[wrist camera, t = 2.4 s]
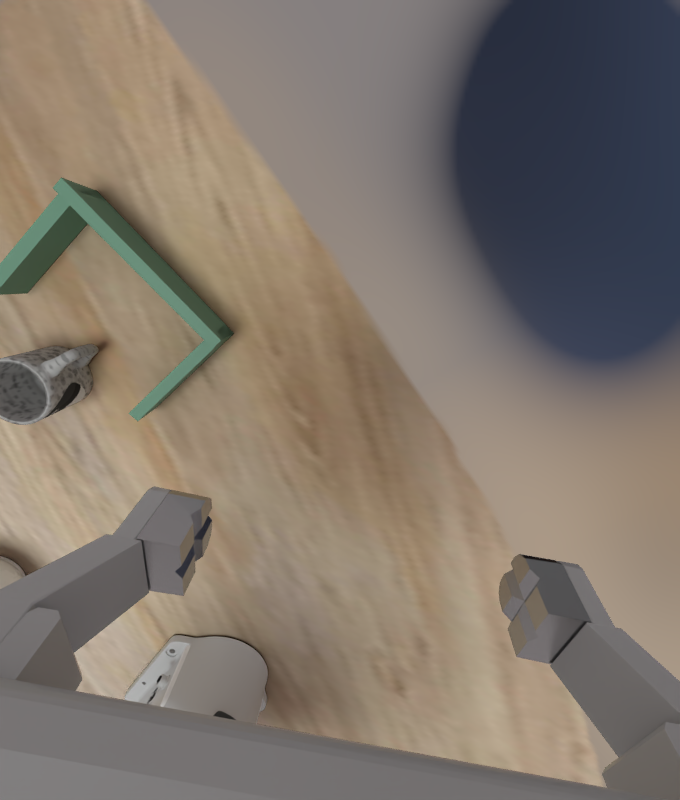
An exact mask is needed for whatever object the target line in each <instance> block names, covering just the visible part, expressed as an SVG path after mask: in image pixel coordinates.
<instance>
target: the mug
mask: <svg viewBox="0 0 680 800" xmlns="http://www.w3.org/2000/svg"><path fill="white" fill-rule="evenodd" d="M98 351H99V350H98V347H97V346H95V345H94V344H87V345H83V346H80V347H76V348H73V349H71V350H70V349H68V348H65V347H60V346H51V347H47V348H42V349H38V350H34V351H30V352H26V353H21V354H17V355H13V356H9V357H4V358H0V418H2V419H3V420H5V421H8V422H10V423H14V424H20V425H26V424H32V423H35V422H37V421H39V420H41V419H44V418H46V417H48V416H50V415H52V414H54V413H56V412H58V411H60V410H62V409H64V408H66V407H69V406H71V405H73V404H75V403H77V402H79V401H81V400H83V399H84V398H85V397H86V396H87V395H88V394H89V393H90V391H91V388H92V385H93V377H92V373H91V370H90V368H89V366H88V364H89V362H90V361H91V359H92V358H93V357H94V355H96V354H97V353H98Z"/></svg>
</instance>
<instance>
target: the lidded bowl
mask: <svg viewBox="0 0 680 800" xmlns="http://www.w3.org/2000/svg"><path fill="white" fill-rule="evenodd" d="M25 576H26V575H25V573H24V571H23V570H22V568H21V567H20V566H19V565H18V564H17V563H15V562H14V561H12V560H11V559H8V558H6V557H3V556H0V589H2V588H4V587H6V586H8V585H10V584H11V583H13V582H15V581H17V580H19V579H21V578H23V577H25Z"/></svg>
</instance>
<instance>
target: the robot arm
mask: <svg viewBox="0 0 680 800" xmlns="http://www.w3.org/2000/svg"><path fill="white" fill-rule="evenodd" d="M211 509H212V500H211V498H208V497H204V496H199V495H194V494H189V493H185V492H180V491H175V490H169V489H164V488H159V487H152V488H151V489H149V490H148V491H147V492H146V493H145V494H144V496H143V497H142V498H141V500H140V501H139V502H138V503H137V505H136V506H135V507H134V508H133V510H132V511H131V512H130V514H129V515H128V516H127V517H126V519H125V520H124V521H123V523H122V524H121V525H120V526H119V528H118V529H117V530H116V531H115V533H114V534H113V535H108V534H106V535H104V536H102V537H100V538H98V539H96V540H95V541H93V542H91V543H89V544H87V545H85V546H83V547H81V548H79V549H77V550H75V551H73V552H71V553H69V554H67V555H66V556H64V557H62V558H60V559H58V560H56V561H54V562H52V563H50V564H48V565H46V566H44V567H42V568H40V569H39V570H37V571H35V572H33V573H31V574H29V575H27V576H25V577H23V578H21V579H19V580H17V581H15V582H13V583H11V584H10V585H8V586H6V587H4V588H2V589H0V800H680V681H679V680H678V679H676V678H675V677H674V676H673V675H672V674H671V673H670V672H669V671H668V670H666V669H665V668H664V667H663V666H662V665H661V664H660V663H658V661H656V660H655V659H654V658H653V657H652V656H651V655H650V654H649V653H648V652H647V651H645V650H644V649H643V648H642V647H641V646H640V645H639V644H638V643H637V642H635V641H634V640H633V639H632V638H631V637H630V636H629V635H628V634H627V633H626V632H624V631H623V630H622V629H620V628H615V626H614V625H613V623H612V621H611V619H610V617H609V616H608V614H607V612H606V610H605V609H604V607H603V605H602V603H601V601H600V599H599V598H598V596H597V594H596V592H595V590H594V589H593V587H592V585H591V583H590V581H589V580H588V578H587V576H586V574H585V572H584V571H583V569H582V568H581V567H580V566H579V565H577V564H572V563H566V562H561V561H555V560H550V559H544V558H539V557H532V556H527V555H521V554H519V555H517V556H515V557H514V559H513V560H512V562H511V565H512V568H513V570H511V571H509V572H507V573H505V574H504V576H503V577H502V579H501V581H500V586H499V600H500V604H501V608H502V611H503V613H504V614H505V615H506V616H507V617H508V618H509V619H510V621H511V623H510V625H509V627H508V631H509V635H510V638H511V641H512V644H513V648H514V651H515V654H516V657H520V658H524V659H529V660H534V661H538V662H543V663H548V664H551V665H550V666H551V668H552V669H553V670H554V672H555V673H556V674H557V676H558V677H559V678H560V680H561V681H562V682H563V684H564V685H565V686H566V688H567V689H568V690H569V692H570V693H571V694H572V696H573V697H574V698H575V700H576V701H577V702H578V704H579V705H580V706H581V708H582V709H583V710H584V712H585V713H586V714H587V716H588V717H589V718H590V720H591V721H592V722H593V724H594V725H595V726H596V728H597V729H598V730H599V732H600V733H601V734H602V736H603V737H604V738H605V740H606V741H607V742H608V744H609V745H610V746H611V748H612V749H613V750H614V752H615V753H616V754H617V756H618V757H619V758H618V759H616V760H615V761H613V762H612V763H611V764H609V765H608V766H607V767H605V769H604V771H603V773H602V775H603V778H604V780H605V783H606V786H607V788H605V787H600V786H594V785H589V784H583V783H578V782H572V781H567V780H561V779H556V778H551V777H545V776H540V775H534V774H529V773H523V772H518V771H512V770H507V769H501V768H496V767H490V766H485V765H479V764H474V763H468V762H463V761H458V760H452V759H447V758H441V757H436V756H430V755H425V754H419V753H414V752H408V751H403V750H397V749H392V748H386V747H381V746H375V745H370V744H364V743H359V742H353V741H348V740H342V739H337V738H331V737H326V736H320V735H315V734H309V733H304V732H298V731H293V730H287V729H282V728H276V727H271V726H265V725H260V724H257V721H258V717H259V713H260V711H262V710H264V709H265V707H266V703H267V695H266V692H265V685H266V682H267V678H268V670H267V666H266V663H265V661H264V660H263V658H262V657H261V655H260V654H259V653H258V652H257V651H256V650H254V649H253V648H252V647H250V646H249V645H247V644H245V643H243V642H241V641H238V640H235V639H232V638H227V637H218V636H212V637H202V638H193V637H188V636H182V635H175V636H173V637H171V638H170V639H169V640H168V642H167V643H166V644H165V645H164V646H163V648H162V649H161V650H160V651H159V653H158V654H157V655H156V656H155V657H154V659H153V660H152V661H151V662H150V663H149V665H148V666H147V667H146V668H145V669H144V671H143V672H142V673H141V674H140V675H139V677H138V678H137V679H136V680H135V681H134V683H133V684H132V685H131V686H130V688H129V689H128V690H127V692H126V695H125V700H123V699H117V698H112V697H106V696H101V695H95V694H90V693H84V692H79V691H76V689H77V687H78V686H79V684H80V682H81V681H82V675H81V671H80V668H79V665H78V663H77V660H76V657H75V655H74V652H75V651H77V650H78V649H79V648H80V647H82V646H83V645H84V644H85V643H87V642H88V641H89V640H90V639H92V638H93V637H94V636H95V635H97V634H98V633H99V632H100V631H102V630H103V629H104V628H105V627H107V626H108V625H109V624H110V623H112V622H113V621H114V620H115V619H117V618H118V617H119V616H120V615H122V614H123V613H124V612H125V611H127V610H128V609H129V608H130V607H132V606H133V605H134V604H135V603H137V602H138V601H139V600H140V599H142V598H143V597H144V596H145V595H147V594H148V593H149V591H155V592H162V593H168V594H175V595H182V596H184V594H185V592H186V590H187V588H188V586H189V584H190V582H191V580H192V578H193V575H194V573H195V561H197V560H198V559H200V558H201V557H203V555H204V553H205V550H206V548H207V546H208V543H209V539H210V536H211V531H212V520H211V518H210V517H209V516H208V515H209V513H210V511H211Z"/></svg>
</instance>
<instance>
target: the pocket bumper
mask: <svg viewBox="0 0 680 800" xmlns="http://www.w3.org/2000/svg"><path fill="white" fill-rule="evenodd" d="M53 189H54V190H55V191H56V192H57V193H58V195H57V196H56V197H55V198H54V200H53V201H52V202H51V203H50V204H49V206H48V207H47V208H46V209H45V210H44V212H43V213H42V214H41V215H40V217H39V218H38V219H37V220H36V221H35V223H34V224H33V225H32V226H31V227H30V229H29V230H28V231H27V232H26V233H25V235H24V236H23V237H22V238H21V239H20V241H19V242H18V243H17V244H16V246H15V247H14V248H13V249H12V250H11V252H10V253H9V254H8V255H7V256H6V258H5V259H4V260H3V261H2V262H1V264H0V295H1V294H23V293H28V292H29V291H30V289H31V288H32V287H33V286H34V285H35V284H36V282H37V281H38V280H39V279H40V278H41V277H42V275H43V274H44V273H45V272H46V271H47V270H48V269H49V267H50V266H51V265H52V264H53V263H54V262H55V260H56V259H57V258H58V257H59V256H60V255H61V254H62V252H63V251H64V250H65V249H66V248H67V247H68V245H69V244H70V243H71V242H72V241H73V240H74V239H75V237H76V236H77V235H78V234H79V233H80V232H81V230H82V229H83V228H84V227H85V226H86V225H87V224H89V225H90V226H91V227H92V228H93V229H94V230H95V231H96V232H97V233H98V234H99V235H100V236H101V237H102V238H103V239H104V240H105V241H106V242H107V243H108V244H109V245H110V246H111V247H112V248H113V249H114V250H115V251H116V252H117V253H118V254H119V255H120V256H121V257H122V258H123V259H124V260H125V261H126V262H127V263H128V264H129V265H130V266H131V267H132V268H133V269H134V270H135V271H136V272H137V273H138V274H139V275H140V276H141V277H142V278H143V279H144V280H145V281H146V282H147V283H148V284H149V285H150V286H151V287H152V288H153V289H154V290H155V291H156V292H157V293H158V294H159V295H160V296H161V297H162V298H163V299H164V300H165V301H166V302H167V303H168V304H169V305H170V306H171V307H172V308H173V309H174V310H175V311H176V312H177V313H178V314H179V315H180V316H181V317H182V318H183V319H184V320H185V321H186V322H187V323H188V324H189V325H190V326H191V327H192V328H193V329H194V330H195V331H196V332H197V333H198V334H199V335H200V336H201V337H202V338H203V339H204V341H203V342H202V343H201V344H200V345H199V346H198V347H197V348H196V349H195V350H194V351H193V352H191V353H190V354H189V355H188V356H187V357H186V358H185V359H184V360H183V361H182V362H181V363H180V364H179V365H178V366H177V367H176V368H175V369H174V370H173V371H172V372H171V373H170V374H169V375H168V376H167V377H166V378H165V379H164V380H163V381H162V382H161V383H159V384H158V385H157V386H156V387H155V388H154V389H153V390H152V391H151V392H150V393H149V394H148V395H147V396H146V397H145V398H144V399H143V400H142V401H141V402H140V403H139V404H138V405H137V406H136V407H135V408H134V409H133V410H132V411H131V412H130V413H129V414H130V415H131V416H132V417H133V418H135V419H136V420H137V421H139V420H140V419H142V418H143V417H144V416H146V415H147V414H148V413H150V412H151V411H153V410H154V409H155V408H156V407H157V406H158V405H159V404H160V403H161V402H163V401H164V400H165V399H166V398H167V397H168V396H169V395H170V394H171V393H172V392H173V391H174V390H175V389H176V388H177V387H178V386H179V385H180V384H181V383H182V382H183V381H185V380H186V379H187V378H188V377H189V376H190V375H191V374H192V373H193V372H194V371H195V370H196V369H197V368H198V367H199V366H200V365H201V364H202V363H203V362H204V361H206V360H207V359H208V358H209V357H210V356H211V355H212V354H213V353H214V352H215V351H216V350H217V349H218V348H219V347H220V346H221V345H222V344H223V343H224V342H225V341H227V340H228V339H229V338H230V337H231V336H232V335H233V334H234V333H233V332H232V331H231V330H230V329H229V328H228V327H227V326H226V324H225V323H224V322H223V321H222V320H221V319H220V318H219V317H218V316H217V315H216V314H215V313H214V312H213V311H212V310H211V309H210V308H209V307H208V306H207V305H206V304H205V303H204V302H203V301H202V300H201V299H200V298H199V296H198V295H197V294H196V293H195V292H194V291H193V290H192V289H191V288H190V287H189V286H188V285H187V284H186V283H185V282H184V281H183V280H182V279H181V278H180V277H179V276H178V275H177V274H176V273H175V272H174V271H173V270H172V268H171V267H170V266H169V265H168V264H167V263H166V262H165V261H164V260H163V259H162V258H161V257H160V256H159V255H158V254H157V253H156V252H155V251H154V250H153V249H152V248H151V247H150V246H149V245H148V244H147V243H146V242H145V240H144V239H143V238H142V237H141V236H140V235H139V234H138V233H137V232H136V231H135V230H134V229H133V228H132V227H131V226H130V225H129V224H128V223H127V222H126V221H125V220H124V219H123V218H122V217H121V216H120V215H119V214H118V212H117V211H116V210H115V209H114V208H113V207H112V206H111V205H110V204H109V203H108V202H107V201H106V200H105V199H104V198H103V197H102V196H101V195H100V194H99V193H98V192H97V191H96V190H93V189H90V188H88V187H85V186H82V185H80V184H77V183H74V182H72V181H69V180H66V179H64V178H61V179H60V180H59V181H58V182H57V183H56V185H55V186H54V187H53Z"/></svg>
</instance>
